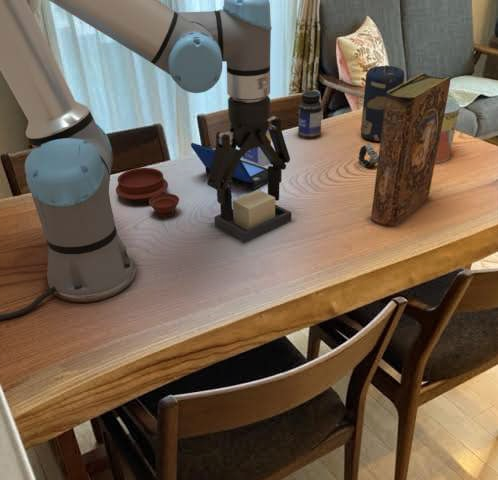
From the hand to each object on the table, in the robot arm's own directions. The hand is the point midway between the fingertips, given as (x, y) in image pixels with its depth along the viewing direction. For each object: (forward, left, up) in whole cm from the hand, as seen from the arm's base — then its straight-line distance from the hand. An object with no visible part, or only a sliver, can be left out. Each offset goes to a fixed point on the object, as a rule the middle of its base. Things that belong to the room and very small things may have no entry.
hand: (250, 207), depth 109 cm
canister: (+55, +12, -4) cm, 57 cm away
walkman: (+22, +24, -4) cm, 33 cm away
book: (+26, -17, -4) cm, 32 cm away
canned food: (+54, -4, -4) cm, 55 cm away
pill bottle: (+43, +26, -4) cm, 51 cm away
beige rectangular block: (0, -1, -3) cm, 3 cm away
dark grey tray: (0, 0, -4) cm, 4 cm away
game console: (+11, +19, -4) cm, 22 cm away
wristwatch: (+39, +2, -4) cm, 40 cm away
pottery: (-10, +23, -4) cm, 25 cm away
